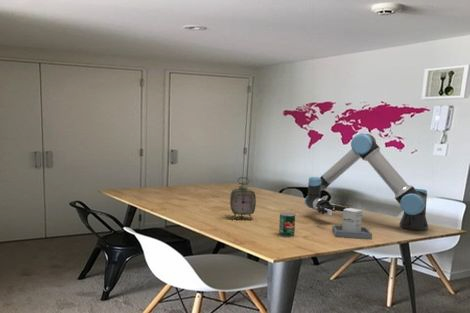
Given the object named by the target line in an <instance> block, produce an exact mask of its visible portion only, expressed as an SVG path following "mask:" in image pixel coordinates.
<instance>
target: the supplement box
mask: <svg viewBox="0 0 470 313" xmlns="http://www.w3.org/2000/svg"><path fill="white" fill-rule="evenodd" d="M342 213H343V214H342V225H341V226H342V231H344V232H360V233H361V227H362V220H363V219H362V218H363V210H362V209H357V208H351V207H350V208H348V209H344V210H343V212H342Z"/></svg>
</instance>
